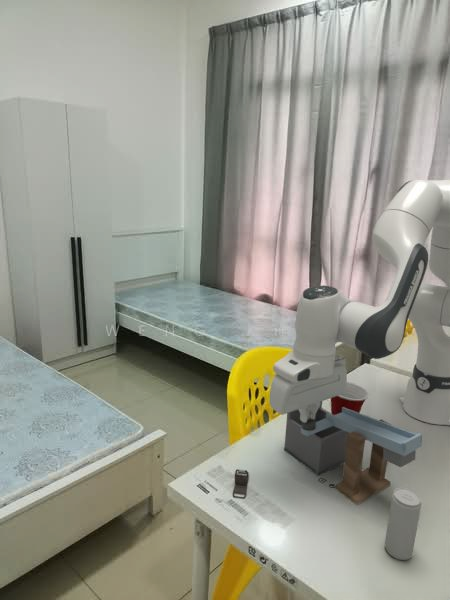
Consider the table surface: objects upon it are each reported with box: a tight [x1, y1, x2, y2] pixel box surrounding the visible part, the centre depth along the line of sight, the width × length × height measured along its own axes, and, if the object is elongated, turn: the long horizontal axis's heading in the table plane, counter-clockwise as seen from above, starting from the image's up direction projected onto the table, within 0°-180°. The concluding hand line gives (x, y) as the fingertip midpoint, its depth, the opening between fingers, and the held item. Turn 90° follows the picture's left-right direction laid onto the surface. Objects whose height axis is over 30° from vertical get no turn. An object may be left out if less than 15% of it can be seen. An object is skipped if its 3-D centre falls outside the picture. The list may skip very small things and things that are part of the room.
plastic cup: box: [330, 381, 370, 415], centre depth 118 cm, size 11×11×12 cm
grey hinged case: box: [232, 469, 250, 500], centre depth 94 cm, size 8×3×4 cm, turn 171°
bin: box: [284, 401, 349, 476], centre depth 105 cm, size 12×12×16 cm
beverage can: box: [384, 487, 422, 561], centre depth 77 cm, size 5×5×12 cm
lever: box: [301, 407, 423, 468], centre depth 90 cm, size 14×20×6 cm
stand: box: [335, 419, 392, 505], centre depth 94 cm, size 11×6×14 cm, turn 124°
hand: (307, 419), depth 94 cm, fingers closed, pressing on lever
